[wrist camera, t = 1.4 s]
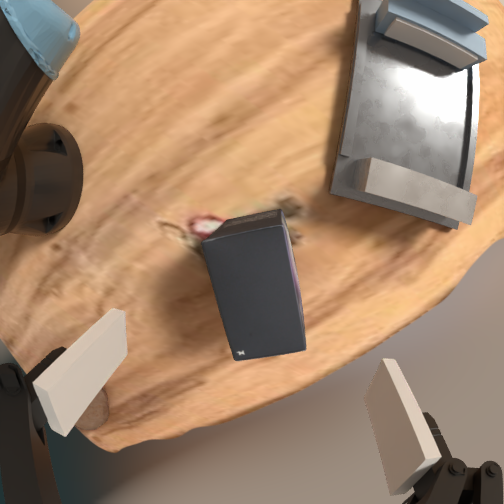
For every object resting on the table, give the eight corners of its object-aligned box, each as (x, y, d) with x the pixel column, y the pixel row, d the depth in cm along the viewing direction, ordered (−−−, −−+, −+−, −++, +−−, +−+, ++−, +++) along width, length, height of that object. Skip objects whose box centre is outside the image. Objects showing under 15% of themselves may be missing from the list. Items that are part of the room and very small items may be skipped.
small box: (303, 300, 32) (310, 353, 22) (246, 310, 33) (231, 364, 23) (284, 206, 30) (286, 223, 20) (223, 219, 31) (195, 242, 21)
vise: (328, 192, 29) (339, 197, 23) (358, -3, 22) (369, -29, 16) (453, 228, 28) (481, 239, 22) (470, 45, 21) (494, 31, 16)
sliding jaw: (374, 34, 23) (398, 0, 15) (376, 5, 21) (397, -31, 14) (464, 73, 22) (502, 56, 14) (463, 43, 21) (497, 23, 13)
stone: (62, 353, 42) (31, 390, 35) (69, 356, 36) (32, 400, 29) (110, 398, 46) (82, 434, 39) (126, 407, 39) (94, 450, 33)
